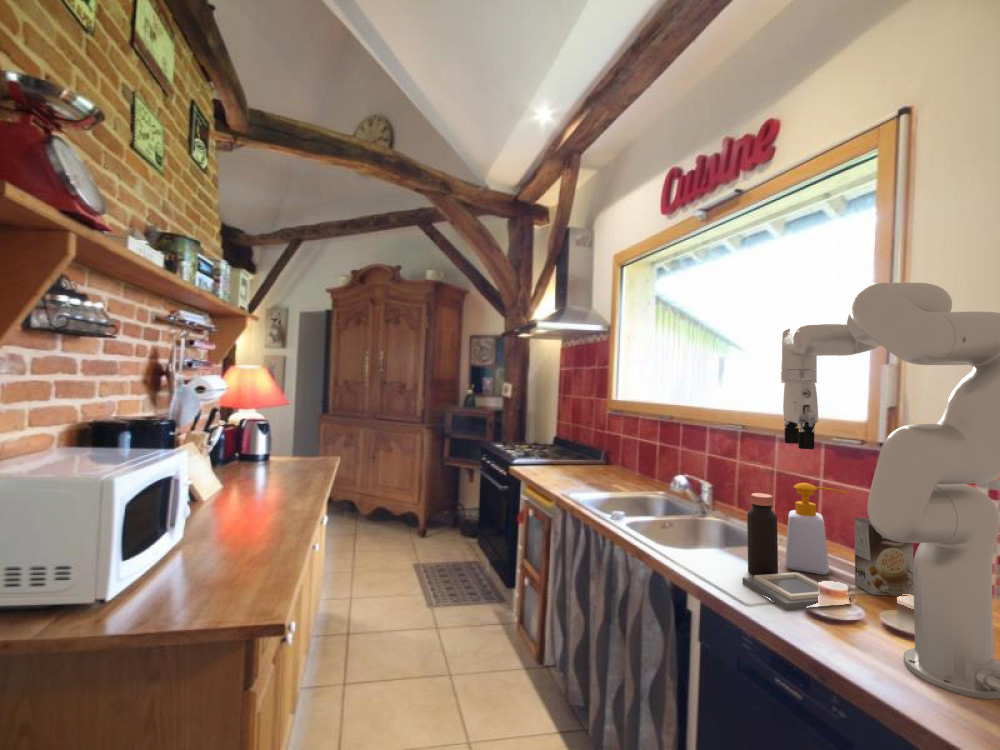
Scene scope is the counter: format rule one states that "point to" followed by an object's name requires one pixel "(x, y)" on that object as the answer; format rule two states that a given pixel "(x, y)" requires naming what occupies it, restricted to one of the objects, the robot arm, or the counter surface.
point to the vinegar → (762, 536)
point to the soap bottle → (807, 534)
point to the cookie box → (882, 562)
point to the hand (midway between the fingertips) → (798, 445)
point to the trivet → (786, 589)
